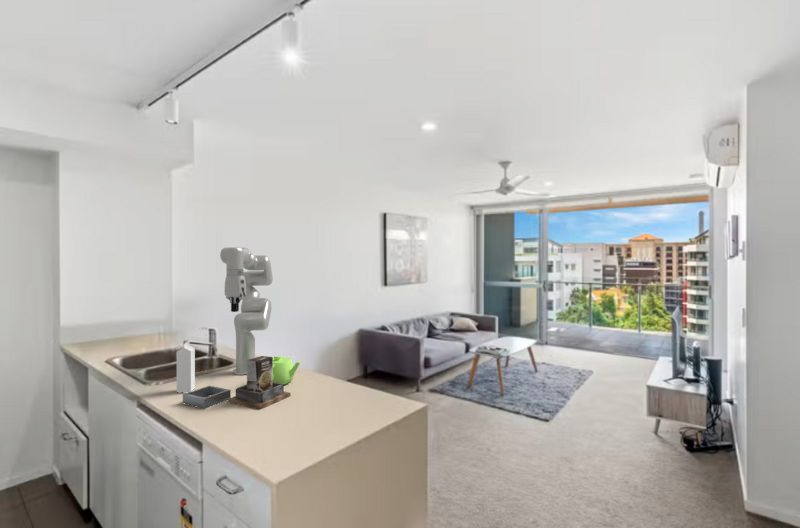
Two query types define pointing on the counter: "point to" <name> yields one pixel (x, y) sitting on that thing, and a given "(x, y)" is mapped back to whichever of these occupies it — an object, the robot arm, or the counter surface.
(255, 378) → the coffee box
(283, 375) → the teapot
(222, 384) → the counter surface
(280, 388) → the dock
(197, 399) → the grey square frame
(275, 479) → the counter surface
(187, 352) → the milk
